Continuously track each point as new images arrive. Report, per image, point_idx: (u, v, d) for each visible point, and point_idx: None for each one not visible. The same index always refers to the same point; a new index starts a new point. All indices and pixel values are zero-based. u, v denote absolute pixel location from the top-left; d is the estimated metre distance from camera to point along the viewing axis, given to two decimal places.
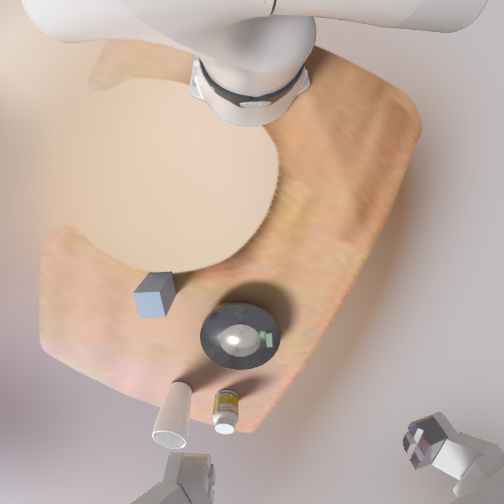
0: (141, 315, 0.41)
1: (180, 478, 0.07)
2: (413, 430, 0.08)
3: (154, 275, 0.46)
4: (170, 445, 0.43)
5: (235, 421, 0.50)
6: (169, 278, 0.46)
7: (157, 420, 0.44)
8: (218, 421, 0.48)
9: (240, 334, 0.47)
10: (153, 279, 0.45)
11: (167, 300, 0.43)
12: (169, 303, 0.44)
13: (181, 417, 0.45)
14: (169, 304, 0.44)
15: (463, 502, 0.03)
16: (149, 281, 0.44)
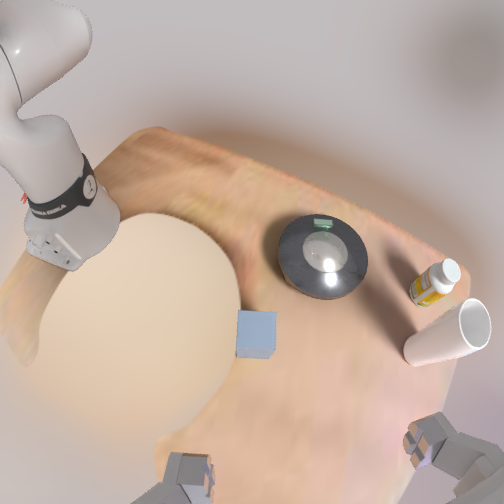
0: (272, 345, 0.30)
1: (180, 478, 0.07)
2: (413, 430, 0.08)
3: None
4: (488, 326, 0.25)
5: None
6: None
7: (450, 348, 0.26)
8: (442, 279, 0.34)
9: (316, 249, 0.41)
10: None
11: None
12: None
13: (441, 317, 0.29)
14: None
15: (463, 502, 0.03)
16: None
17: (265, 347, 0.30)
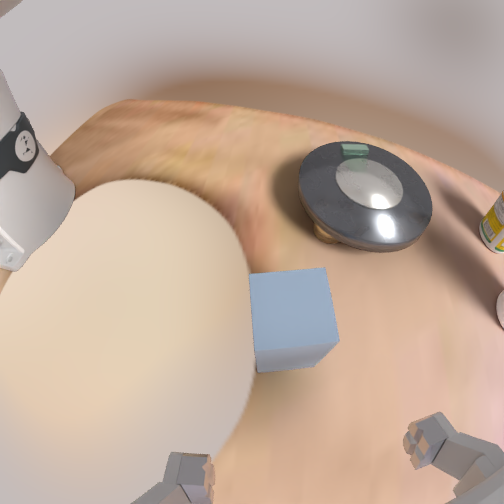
0: (331, 335, 0.14)
1: (180, 478, 0.07)
2: (413, 430, 0.08)
3: None
4: None
5: None
6: None
7: None
8: None
9: (356, 179, 0.25)
10: None
11: None
12: None
13: None
14: None
15: (463, 502, 0.03)
16: None
17: (317, 341, 0.14)
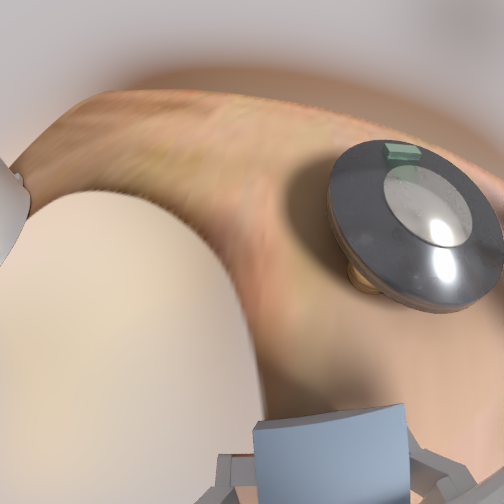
0: None
1: (233, 480, 0.07)
2: None
3: None
4: None
5: None
6: (266, 421, 0.11)
7: None
8: None
9: (412, 198, 0.15)
10: None
11: (333, 416, 0.09)
12: (351, 411, 0.09)
13: None
14: (355, 411, 0.09)
15: (463, 502, 0.03)
16: None
17: None
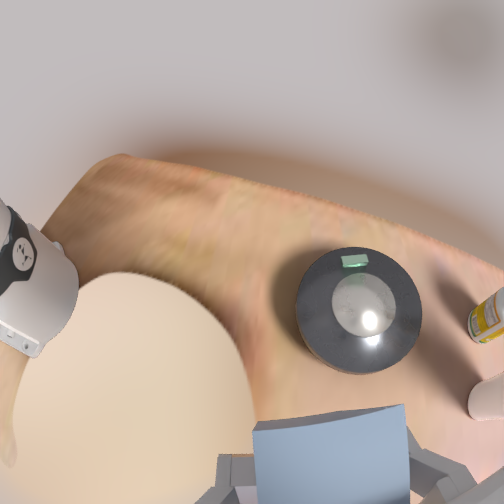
0: None
1: (233, 480, 0.07)
2: None
3: None
4: None
5: None
6: (266, 422, 0.11)
7: None
8: None
9: (351, 303, 0.27)
10: None
11: (333, 416, 0.09)
12: (351, 412, 0.09)
13: None
14: (355, 411, 0.09)
15: (463, 502, 0.03)
16: None
17: None
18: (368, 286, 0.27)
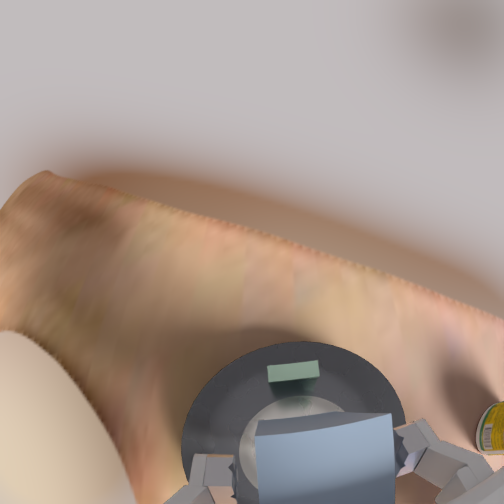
0: None
1: (207, 480, 0.07)
2: (394, 437, 0.08)
3: None
4: None
5: None
6: (266, 422, 0.12)
7: None
8: None
9: None
10: None
11: (328, 420, 0.09)
12: (345, 415, 0.10)
13: None
14: (348, 415, 0.10)
15: (463, 502, 0.03)
16: None
17: None
18: None
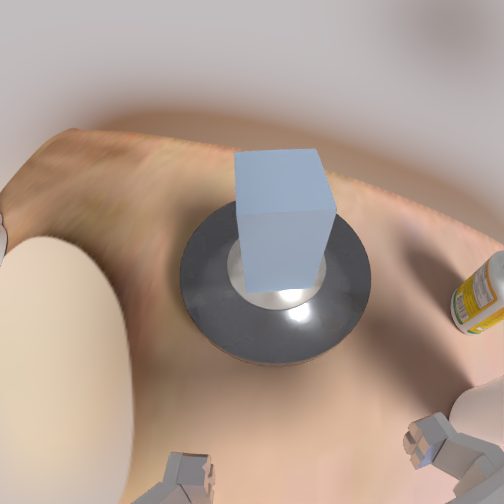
0: (326, 203, 0.12)
1: (180, 478, 0.07)
2: (413, 430, 0.08)
3: None
4: None
5: None
6: None
7: None
8: None
9: None
10: None
11: None
12: None
13: None
14: None
15: (463, 502, 0.03)
16: None
17: (311, 208, 0.12)
18: None
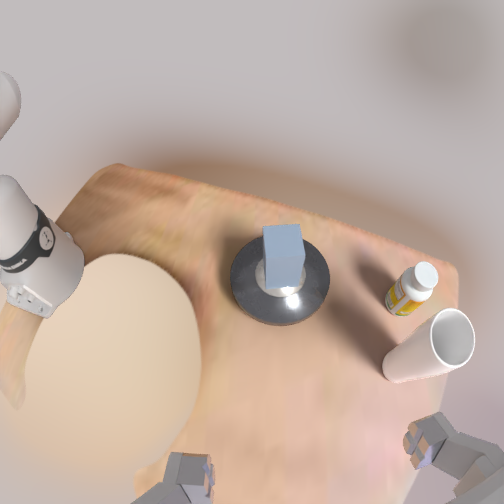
0: (301, 252, 0.31)
1: (180, 478, 0.07)
2: (413, 430, 0.08)
3: None
4: (471, 337, 0.22)
5: None
6: None
7: (425, 368, 0.23)
8: (416, 286, 0.32)
9: None
10: (264, 265, 0.36)
11: None
12: None
13: (413, 332, 0.27)
14: None
15: (463, 502, 0.03)
16: None
17: (295, 254, 0.31)
18: None
